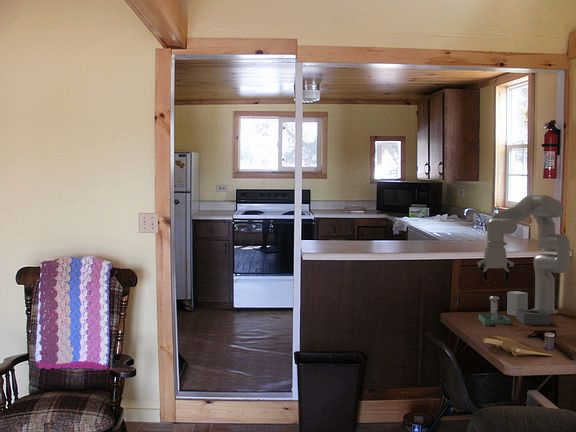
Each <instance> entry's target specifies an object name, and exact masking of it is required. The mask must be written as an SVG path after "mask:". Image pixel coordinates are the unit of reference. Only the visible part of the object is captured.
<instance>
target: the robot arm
mask: <svg viewBox="0 0 576 432" xmlns="http://www.w3.org/2000/svg"><path fill="white" fill-rule="evenodd" d="M563 214H564V205H563V203H562V202H560V201H559V200H558V199H555V198H553V197H551V196H549V195H547V194H529V195H526V196H525V197H523V198H522V199H520V200H519V202H517V203H516V204H515V205H514V206H512V207H509V208H506V209H504V210H501V211H499V212H497V213H496V214H494V215H493V216H491V218H489V220H487V225H486V229H487V230H486V231H487V232H486V233H487V234H486V237H487V240H486V241H487V243H486V244H487V247H484V248H485V249H484V254H483V255H484V257H483V259H482V260H480V261H478V262H476V264H477V266H478V268H479V269H480V270H481V271H482V278H483V280H484V281H488V280H487V279H488V272H487V270H489V269H503V270H504V271H503V279H504V280H505V281H508V279H509V272H510V270H512V269H513V267H514V266H515V263H514V262H513V261H511V260H510V259H508V258H507V250H506V247H505V246H507V245H508V243H507V242H505V241H504V239H505V238H504V235H511V234H514V233H516V232H517V229H518V222H519V223H520V222H523V221H525V220H526V219H527V218H529V217H530V216H531V215H532V217H533V218H534V219H535V221H536V224H537V243H536V244H537V248H538V250H539V251H542V252H551V253H538V254H536V255H535V256H534V258H533V268H534V275H535V279H534V280H535V281H534V282H535V283H534V291H535V292H534V307H533V308H531V310H543V311H545V312H547V313H548V314H550V315H556V314H557V315H558V310H556V309H555V294H556V293H555V292H556V291H555V289H556V285H555V284H556V283H555V277H554V275H553V274H552V273H556V274H557V273H558V274H565V273H567V272H568V271H569V269H570V257H571V255H570V253H571V242H570V239H569V237H568V236H567V235H566V234H563V233H562V234H559V233H556V223H555V221H554V220H553V218H560V217H561V216H562V215H563ZM552 252H553V253H556V254H552ZM482 264H483V266H484V267H483V266H482ZM508 264H509V266H508Z"/></svg>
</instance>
